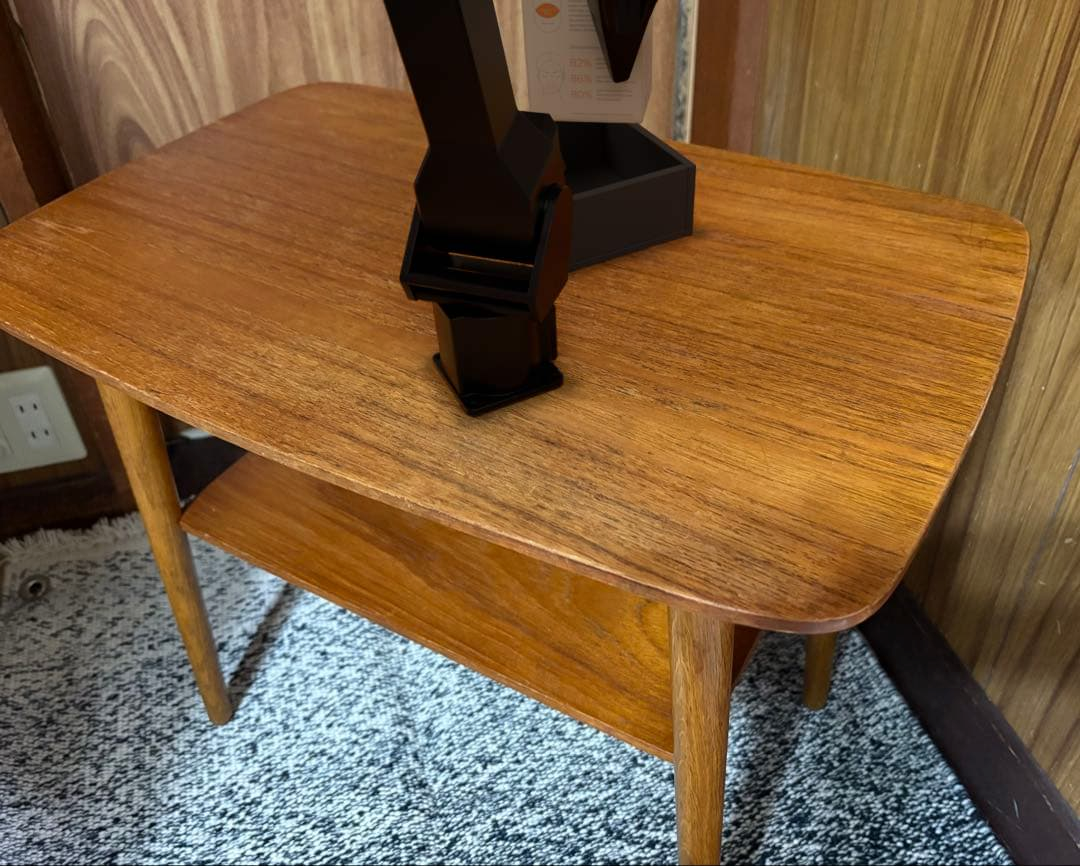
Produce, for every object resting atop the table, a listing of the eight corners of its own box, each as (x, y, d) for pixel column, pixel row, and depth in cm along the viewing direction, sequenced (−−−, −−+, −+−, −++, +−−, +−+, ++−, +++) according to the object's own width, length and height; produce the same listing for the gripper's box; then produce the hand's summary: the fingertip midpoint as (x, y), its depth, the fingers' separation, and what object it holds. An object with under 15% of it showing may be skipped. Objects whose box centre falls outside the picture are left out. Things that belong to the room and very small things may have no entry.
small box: (653, 92, 70) (657, -67, 63) (643, 126, 66) (646, -41, 59) (543, 89, 72) (535, -68, 65) (527, 121, 68) (517, -42, 61)
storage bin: (556, 276, 70) (553, 205, 66) (482, 199, 79) (476, 133, 76) (693, 234, 73) (696, 164, 70) (606, 164, 83) (606, 100, 79)
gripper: (798, -210, 52) (769, 79, 63) (627, -245, 65) (626, -1, 76) (614, -181, 49) (615, 119, 59) (472, -224, 62) (493, 28, 72)
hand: (589, 59), depth 67 cm, fingers closed on small box, 8 cm apart
